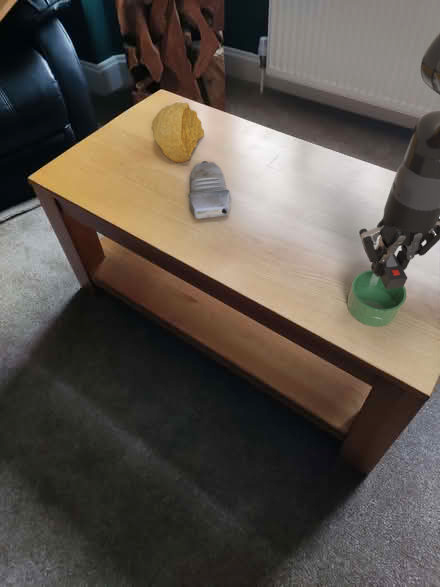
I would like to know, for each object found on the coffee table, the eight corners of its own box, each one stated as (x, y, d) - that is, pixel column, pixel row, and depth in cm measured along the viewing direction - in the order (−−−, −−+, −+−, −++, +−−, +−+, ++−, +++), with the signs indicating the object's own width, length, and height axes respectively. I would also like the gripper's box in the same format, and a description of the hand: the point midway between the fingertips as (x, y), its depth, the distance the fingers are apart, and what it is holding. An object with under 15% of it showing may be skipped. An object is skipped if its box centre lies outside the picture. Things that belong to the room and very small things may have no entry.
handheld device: (223, 165, 110) (223, 150, 106) (233, 219, 97) (233, 204, 94) (186, 169, 109) (184, 153, 106) (191, 224, 97) (189, 208, 93)
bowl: (387, 283, 84) (394, 266, 80) (406, 322, 79) (415, 306, 75) (340, 290, 84) (345, 273, 80) (356, 330, 78) (362, 314, 74)
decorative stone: (132, 143, 113) (152, 116, 100) (162, 109, 119) (185, 78, 106) (169, 178, 117) (194, 156, 104) (197, 143, 123) (223, 117, 110)
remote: (370, 258, 75) (374, 248, 73) (387, 256, 76) (391, 246, 74) (385, 289, 71) (390, 279, 69) (403, 286, 71) (408, 277, 69)
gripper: (381, 215, 57) (354, 294, 71) (482, 201, 58) (436, 282, 71) (361, 180, 61) (339, 261, 75) (455, 167, 62) (417, 250, 76)
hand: (387, 271), depth 73 cm, fingers closed on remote, 3 cm apart
